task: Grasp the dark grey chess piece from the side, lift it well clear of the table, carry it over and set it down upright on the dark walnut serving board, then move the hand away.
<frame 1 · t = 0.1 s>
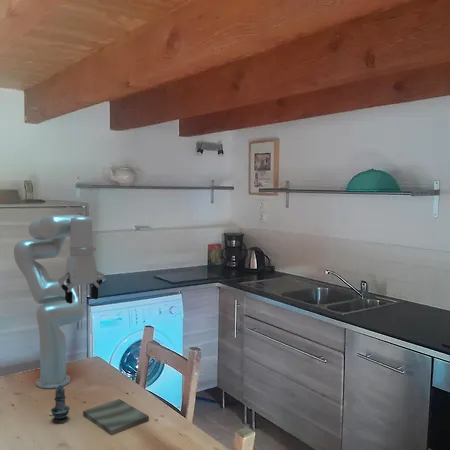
hand: (82, 300, 173), 37 cm above the table, tool pointing down, fingers open, 9 cm apart
dark grey chess piece: (60, 420, 163), on the table
serving board: (115, 417, 165), on the table
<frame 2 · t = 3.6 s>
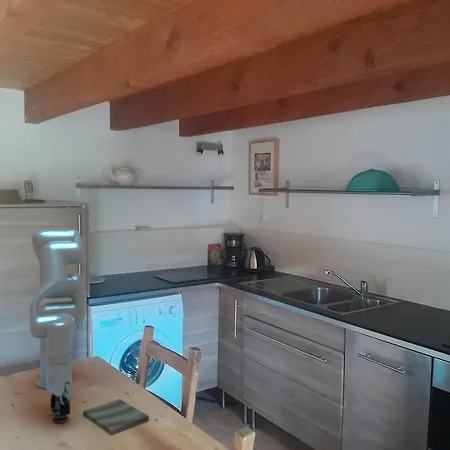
hand: (60, 411, 163), 3 cm above the table, tool pointing down, fingers closed on dark grey chess piece, 5 cm apart
dark grey chess piece: (60, 420, 163), on the table, touching gripper
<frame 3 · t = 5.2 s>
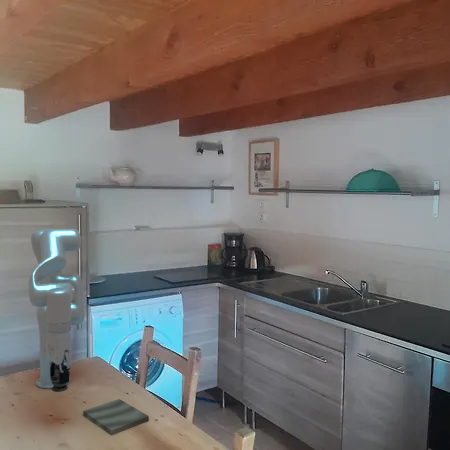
hand: (59, 379, 163), 13 cm above the table, tool pointing down, fingers closed on dark grey chess piece, 5 cm apart
dark grey chess piece: (59, 388, 163), point 10 cm above the table, touching gripper
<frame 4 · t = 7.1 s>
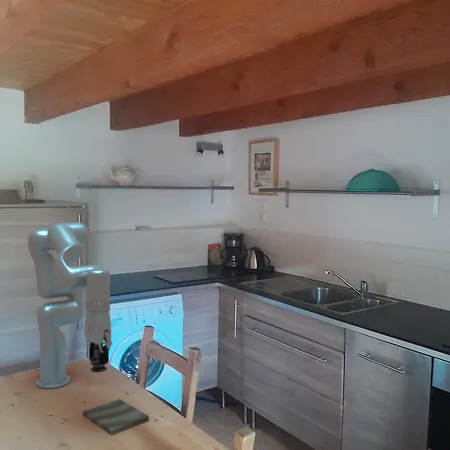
hand: (98, 360, 163), 20 cm above the table, tool pointing down, fingers closed on dark grey chess piece, 5 cm apart
dark grey chess piece: (98, 369, 163), point 17 cm above the table, touching gripper
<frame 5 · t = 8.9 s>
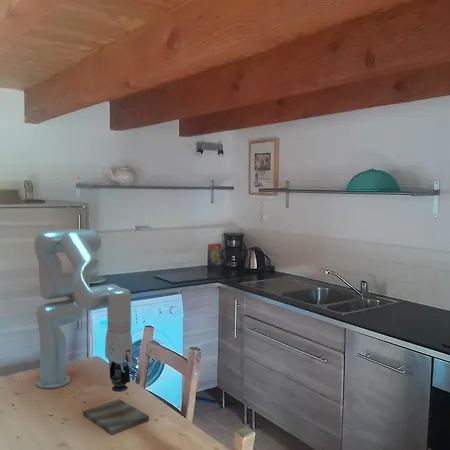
hand: (119, 379, 164), 13 cm above the table, tool pointing down, fingers closed on dark grey chess piece, 5 cm apart
dark grey chess piece: (119, 389, 164), point 10 cm above the table, touching gripper
when the fingers open (6 cm above the table, at t = 10.6 s): dark grey chess piece drops 1 cm, resting on serving board.
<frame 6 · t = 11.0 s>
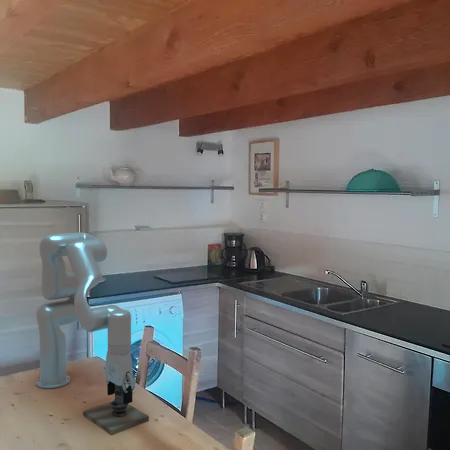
hand: (119, 398, 164), 7 cm above the table, tool pointing down, fingers open, 9 cm apart
dark grey chess piece: (119, 413, 165), point 1 cm above the table, touching serving board
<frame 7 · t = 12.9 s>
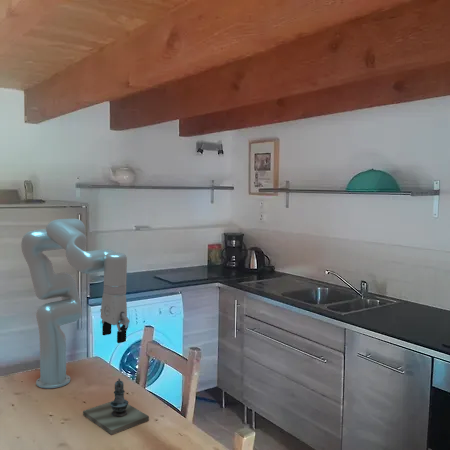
hand: (114, 338, 170), 25 cm above the table, tool pointing down, fingers open, 9 cm apart
nothing on the table moved.
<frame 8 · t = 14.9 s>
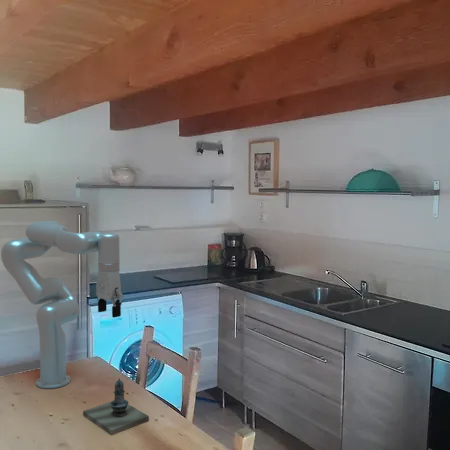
hand: (109, 314, 180), 30 cm above the table, tool pointing down, fingers open, 9 cm apart
nothing on the table moved.
at the end: dark grey chess piece inside the target area on the serving board (1.2 cm from its centre), point 1.3 cm above the serving board's base; dark grey chess piece tilted 0°; the gripper is holding nothing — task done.
